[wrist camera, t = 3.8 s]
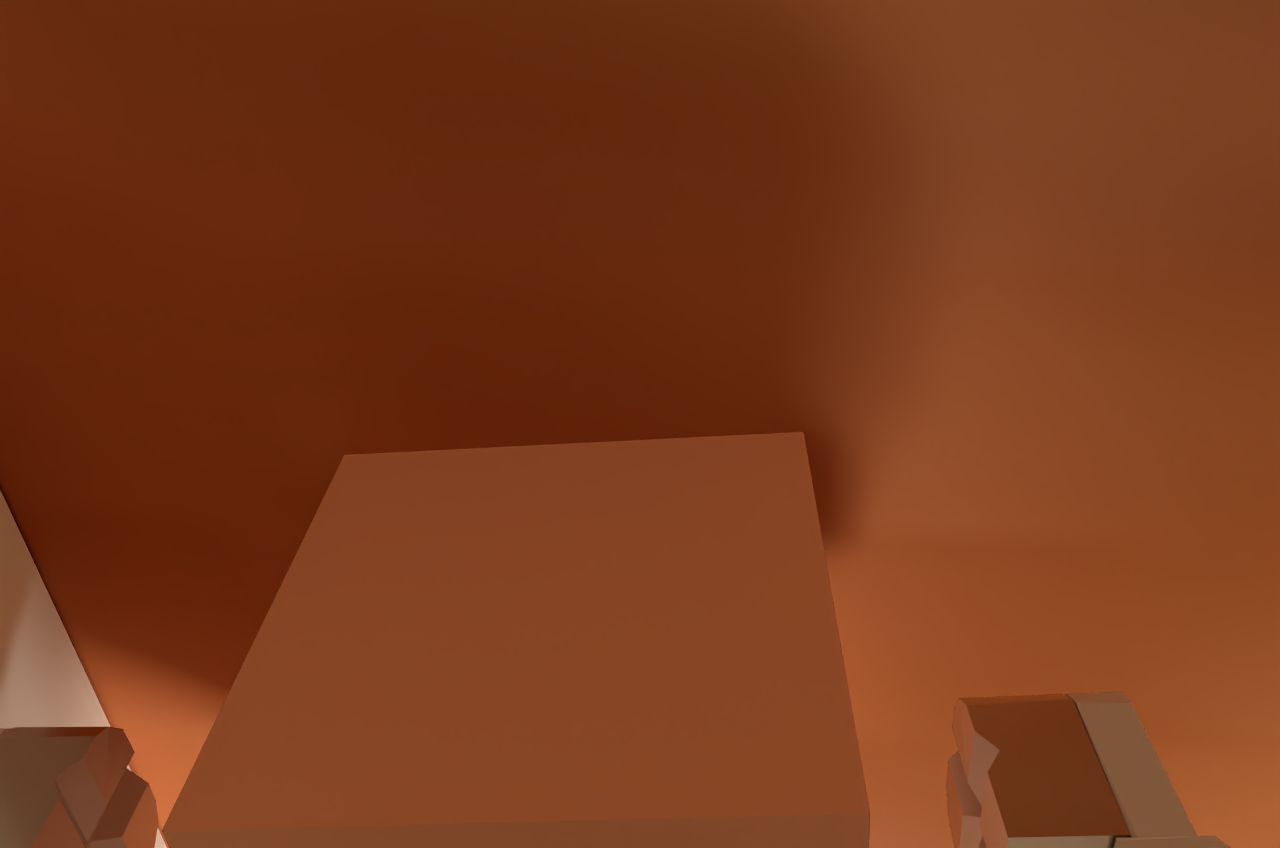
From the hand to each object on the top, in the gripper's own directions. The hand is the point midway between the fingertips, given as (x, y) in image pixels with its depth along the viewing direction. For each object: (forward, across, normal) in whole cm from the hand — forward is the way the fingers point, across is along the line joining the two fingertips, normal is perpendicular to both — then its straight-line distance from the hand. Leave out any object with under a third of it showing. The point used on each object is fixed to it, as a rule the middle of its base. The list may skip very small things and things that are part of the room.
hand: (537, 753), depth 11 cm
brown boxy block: (+3, 0, 0) cm, 3 cm away
